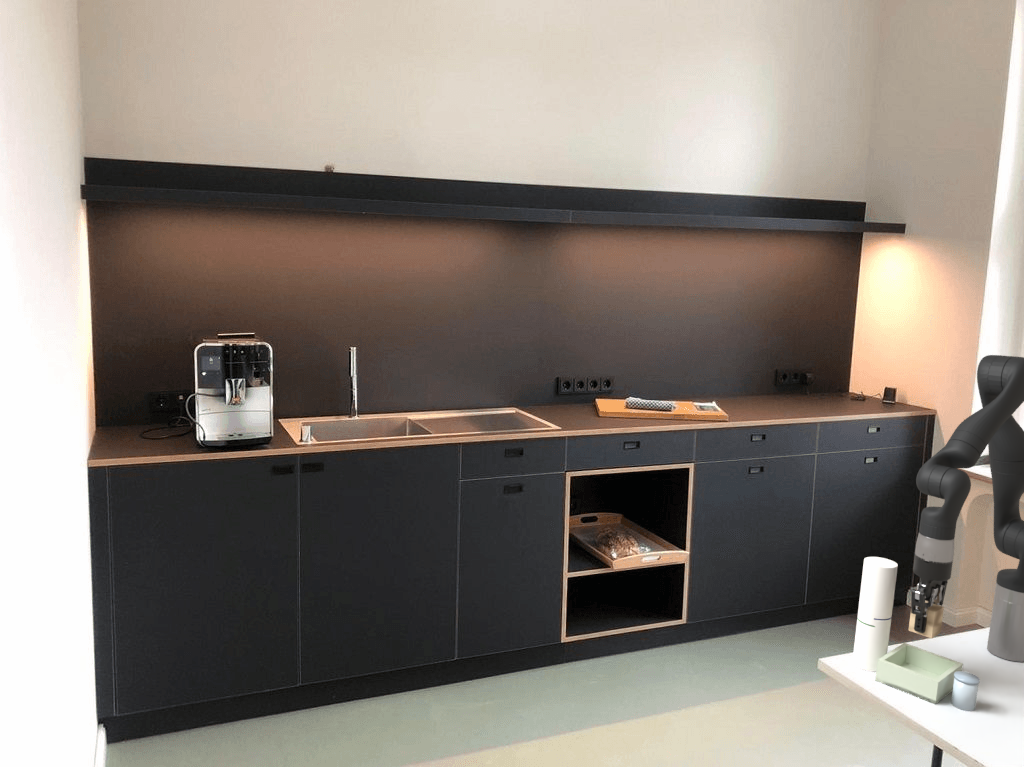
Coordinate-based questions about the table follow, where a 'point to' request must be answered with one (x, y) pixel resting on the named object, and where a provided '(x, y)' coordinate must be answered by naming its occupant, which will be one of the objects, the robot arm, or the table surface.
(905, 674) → the crate
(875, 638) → the cylindrical container
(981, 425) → the robot arm
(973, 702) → the ceramic jar
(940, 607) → the oak block
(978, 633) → the table surface
